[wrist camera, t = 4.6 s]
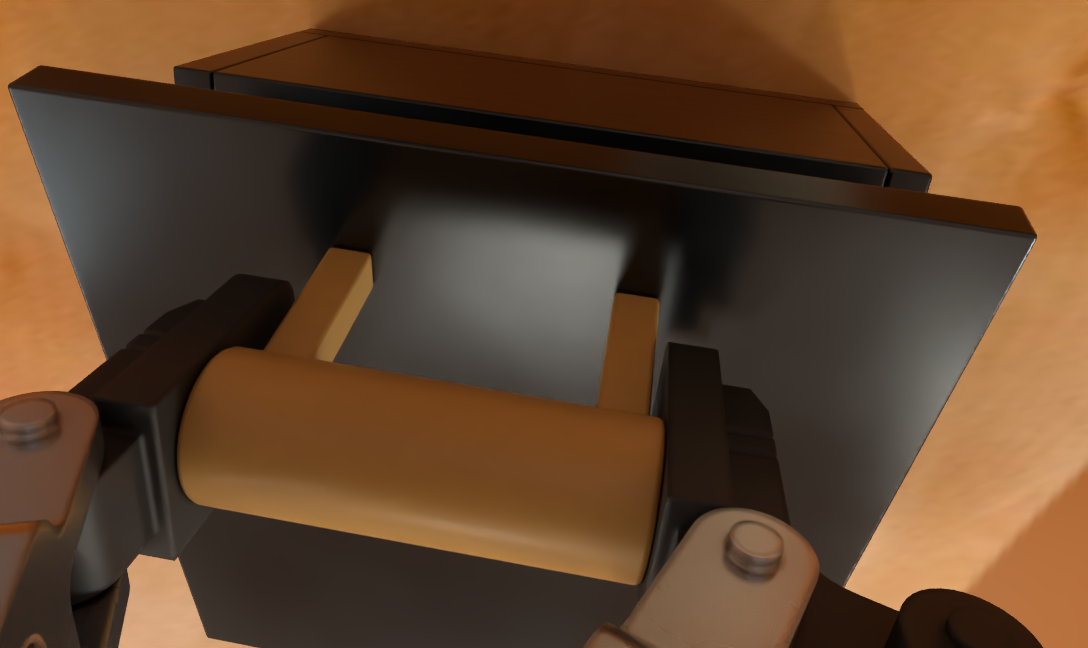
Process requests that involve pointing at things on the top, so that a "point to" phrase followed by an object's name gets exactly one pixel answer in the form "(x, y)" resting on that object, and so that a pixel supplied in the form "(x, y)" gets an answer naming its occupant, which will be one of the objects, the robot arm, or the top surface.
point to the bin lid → (494, 348)
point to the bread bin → (566, 104)
